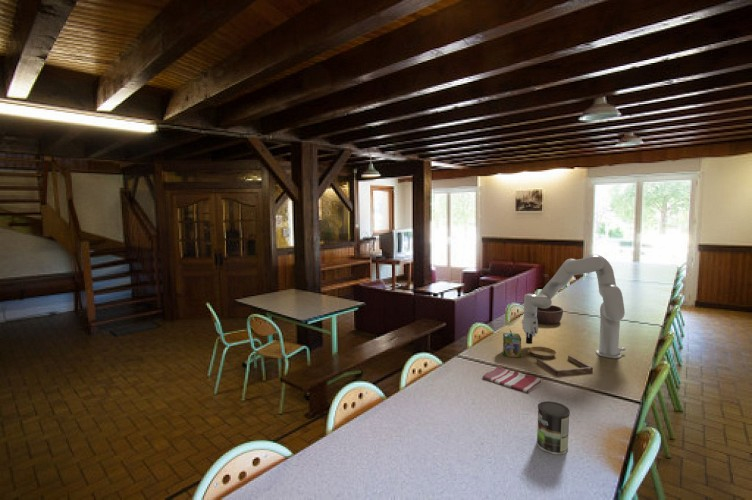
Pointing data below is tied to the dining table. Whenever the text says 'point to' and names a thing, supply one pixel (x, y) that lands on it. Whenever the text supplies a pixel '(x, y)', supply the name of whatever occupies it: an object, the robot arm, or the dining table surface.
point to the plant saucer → (542, 352)
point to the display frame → (584, 369)
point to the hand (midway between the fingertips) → (529, 343)
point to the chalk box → (511, 345)
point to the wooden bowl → (549, 315)
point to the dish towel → (513, 379)
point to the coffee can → (553, 427)
